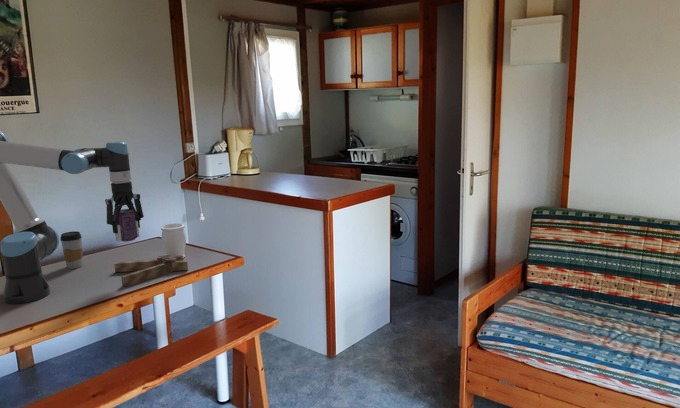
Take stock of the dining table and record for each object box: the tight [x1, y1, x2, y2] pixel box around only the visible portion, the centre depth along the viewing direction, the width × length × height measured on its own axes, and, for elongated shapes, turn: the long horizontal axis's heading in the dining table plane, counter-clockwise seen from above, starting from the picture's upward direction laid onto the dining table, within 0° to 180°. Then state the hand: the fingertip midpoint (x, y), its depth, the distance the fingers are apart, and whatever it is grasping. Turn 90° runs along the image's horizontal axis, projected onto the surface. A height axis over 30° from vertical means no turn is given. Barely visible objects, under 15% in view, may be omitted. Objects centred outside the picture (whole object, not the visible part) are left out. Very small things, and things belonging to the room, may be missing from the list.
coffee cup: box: [59, 230, 84, 270], centre depth 230 cm, size 8×8×15 cm
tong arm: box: [114, 254, 189, 273], centre depth 222 cm, size 30×6×5 cm, turn 98°
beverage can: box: [117, 208, 138, 243], centre depth 208 cm, size 7×7×12 cm
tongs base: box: [120, 255, 184, 288], centre depth 217 cm, size 30×6×4 cm, turn 143°
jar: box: [160, 222, 187, 259], centre depth 238 cm, size 11×10×15 cm
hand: (127, 238), depth 210 cm, fingers closed on beverage can, 7 cm apart
